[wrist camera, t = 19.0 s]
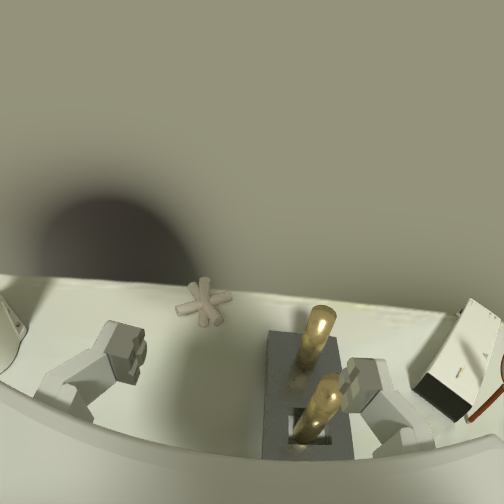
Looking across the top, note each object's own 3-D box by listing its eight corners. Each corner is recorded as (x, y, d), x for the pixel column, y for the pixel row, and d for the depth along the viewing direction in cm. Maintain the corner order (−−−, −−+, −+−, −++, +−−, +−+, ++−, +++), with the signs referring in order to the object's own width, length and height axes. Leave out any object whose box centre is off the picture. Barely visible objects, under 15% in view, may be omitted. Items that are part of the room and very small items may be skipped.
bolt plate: (347, 468, 32) (392, 429, 25) (261, 468, 31) (281, 431, 25) (331, 346, 52) (355, 291, 45) (267, 339, 52) (280, 282, 45)
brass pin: (287, 434, 36) (314, 388, 29) (301, 418, 39) (329, 368, 32) (308, 448, 34) (341, 404, 28) (321, 430, 37) (355, 383, 30)
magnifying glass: (479, 438, 33) (553, 364, 22) (474, 441, 32) (550, 367, 22) (459, 404, 40) (524, 326, 29) (454, 407, 39) (520, 329, 29)
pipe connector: (214, 299, 59) (217, 257, 54) (241, 333, 53) (247, 289, 47) (167, 313, 54) (165, 270, 49) (190, 351, 47) (189, 308, 42)
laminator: (452, 425, 36) (472, 407, 33) (405, 389, 44) (422, 368, 41) (489, 336, 56) (501, 318, 53) (456, 313, 64) (466, 294, 61)
